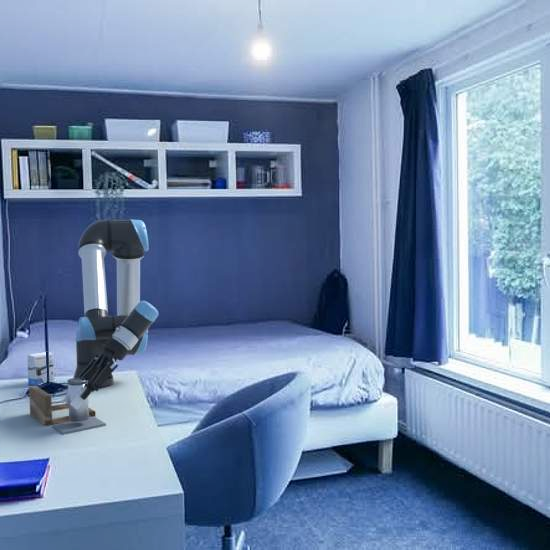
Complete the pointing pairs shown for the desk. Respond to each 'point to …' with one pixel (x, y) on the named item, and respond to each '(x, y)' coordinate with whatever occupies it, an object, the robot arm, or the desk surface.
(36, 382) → the ink box
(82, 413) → the canister
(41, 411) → the frame
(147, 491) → the desk surface
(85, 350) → the robot arm
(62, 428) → the felt pad
